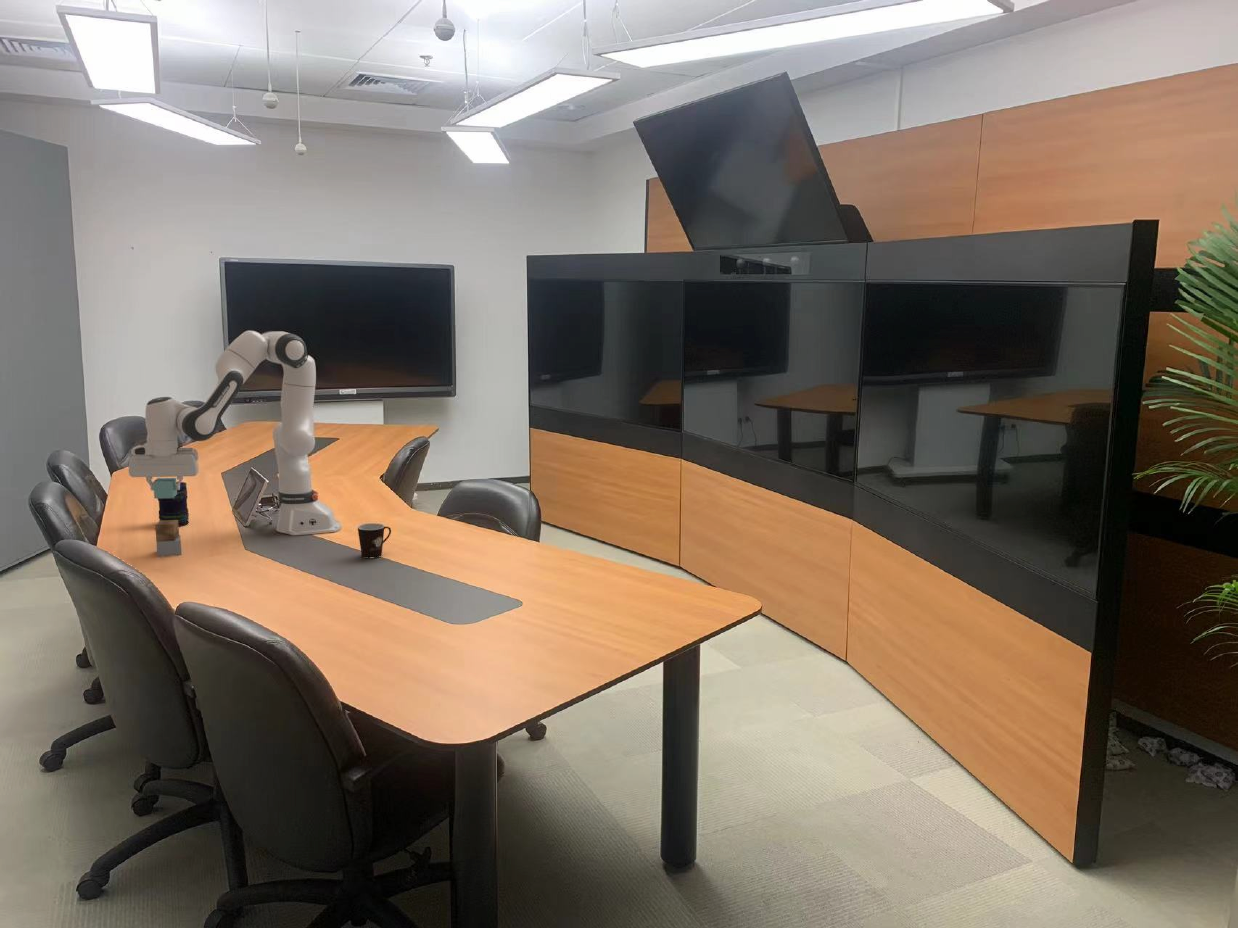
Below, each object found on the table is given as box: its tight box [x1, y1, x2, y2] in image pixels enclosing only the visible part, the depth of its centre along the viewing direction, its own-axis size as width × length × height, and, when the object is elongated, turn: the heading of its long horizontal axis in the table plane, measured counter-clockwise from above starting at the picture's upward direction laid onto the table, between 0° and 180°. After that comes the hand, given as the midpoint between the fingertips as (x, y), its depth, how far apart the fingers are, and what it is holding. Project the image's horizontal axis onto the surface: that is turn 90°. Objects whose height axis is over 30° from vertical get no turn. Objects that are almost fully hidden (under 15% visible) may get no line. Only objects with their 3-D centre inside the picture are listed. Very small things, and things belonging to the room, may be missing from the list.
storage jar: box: [156, 481, 190, 528], centre depth 329 cm, size 10×10×15 cm
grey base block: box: [155, 534, 182, 558], centre depth 296 cm, size 7×7×5 cm
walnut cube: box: [154, 519, 180, 542], centre depth 295 cm, size 6×6×6 cm
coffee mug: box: [357, 522, 392, 559], centre depth 299 cm, size 12×9×10 cm
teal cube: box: [152, 477, 177, 499], centre depth 292 cm, size 6×6×6 cm
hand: (165, 489), depth 292 cm, fingers closed on teal cube, 5 cm apart
